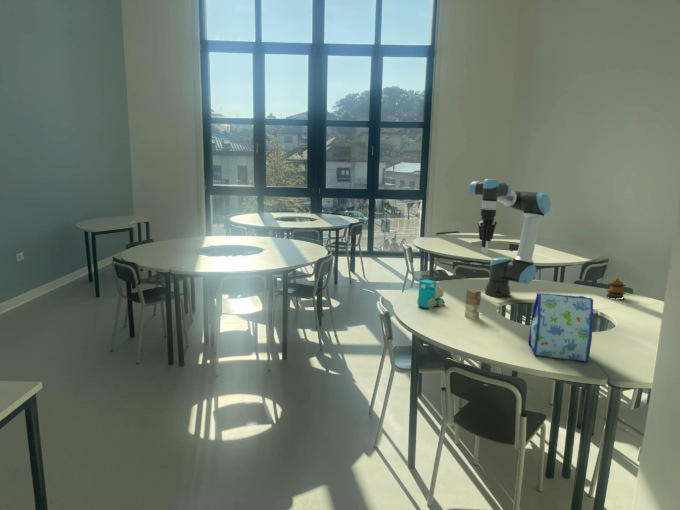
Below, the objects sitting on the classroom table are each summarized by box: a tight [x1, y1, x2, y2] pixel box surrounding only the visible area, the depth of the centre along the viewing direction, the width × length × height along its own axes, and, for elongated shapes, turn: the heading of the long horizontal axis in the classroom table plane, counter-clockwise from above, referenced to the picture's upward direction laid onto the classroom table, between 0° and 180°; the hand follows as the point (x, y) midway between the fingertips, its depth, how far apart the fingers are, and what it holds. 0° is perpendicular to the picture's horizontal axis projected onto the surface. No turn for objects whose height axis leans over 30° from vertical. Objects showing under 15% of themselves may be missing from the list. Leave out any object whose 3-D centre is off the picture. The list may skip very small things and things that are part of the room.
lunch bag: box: [528, 292, 594, 363], centre depth 199 cm, size 22×17×26 cm
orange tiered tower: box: [606, 277, 627, 299], centre depth 294 cm, size 13×10×12 cm
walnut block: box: [465, 288, 482, 306], centre depth 240 cm, size 5×5×7 cm
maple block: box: [464, 303, 481, 320], centre depth 242 cm, size 5×5×7 cm
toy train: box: [416, 278, 446, 310], centre depth 262 cm, size 8×17×15 cm, turn 132°
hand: (484, 252), depth 251 cm, fingers closed
